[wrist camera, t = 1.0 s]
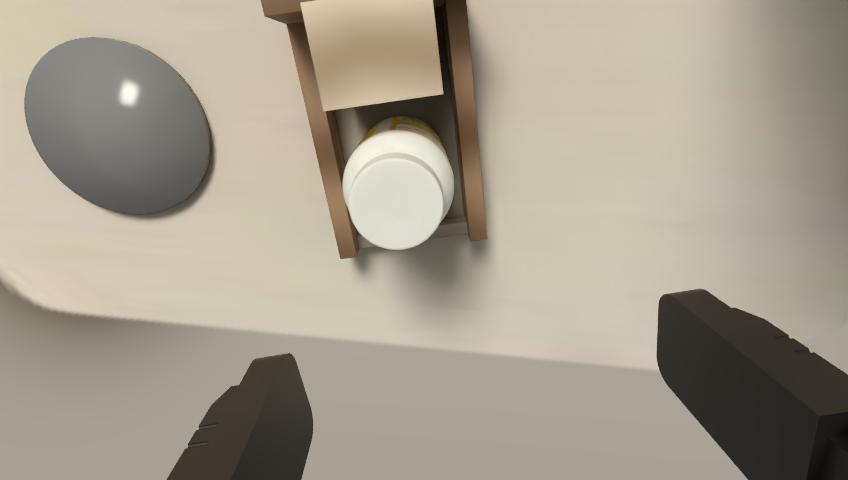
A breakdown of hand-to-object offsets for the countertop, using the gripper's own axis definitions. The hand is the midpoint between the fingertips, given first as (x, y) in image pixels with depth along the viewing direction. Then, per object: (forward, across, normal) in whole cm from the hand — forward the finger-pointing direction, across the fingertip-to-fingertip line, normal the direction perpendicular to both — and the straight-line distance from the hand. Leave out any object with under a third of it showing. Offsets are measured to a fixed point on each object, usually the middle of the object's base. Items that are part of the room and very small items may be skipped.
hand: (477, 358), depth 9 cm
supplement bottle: (+19, +2, -1) cm, 19 cm away
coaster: (+19, +18, -6) cm, 26 cm away
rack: (+19, +2, -3) cm, 19 cm away
